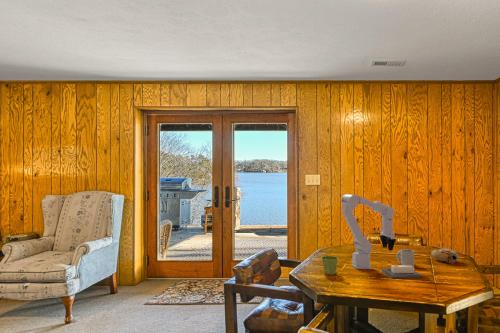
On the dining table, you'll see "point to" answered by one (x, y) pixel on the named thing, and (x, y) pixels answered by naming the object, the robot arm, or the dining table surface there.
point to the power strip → (402, 269)
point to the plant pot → (329, 264)
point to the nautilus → (445, 255)
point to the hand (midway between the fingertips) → (387, 248)
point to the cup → (406, 257)
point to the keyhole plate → (401, 274)
